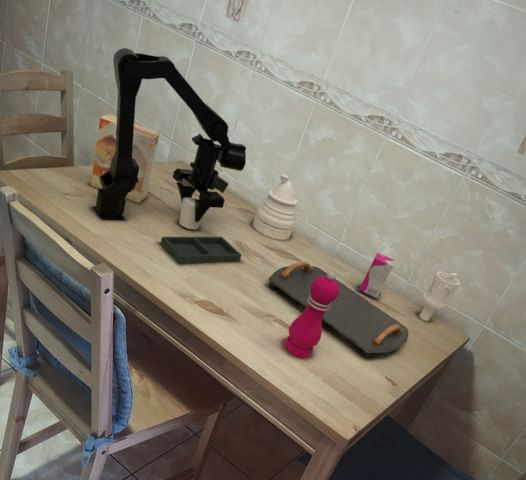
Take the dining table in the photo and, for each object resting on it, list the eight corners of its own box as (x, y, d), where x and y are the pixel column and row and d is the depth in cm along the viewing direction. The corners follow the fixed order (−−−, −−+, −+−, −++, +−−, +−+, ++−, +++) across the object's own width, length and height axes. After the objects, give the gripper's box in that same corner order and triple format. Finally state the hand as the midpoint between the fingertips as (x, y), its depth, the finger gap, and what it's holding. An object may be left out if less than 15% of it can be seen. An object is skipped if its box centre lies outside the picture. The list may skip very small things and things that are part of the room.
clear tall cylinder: (439, 322, 151) (466, 280, 143) (427, 326, 146) (454, 282, 138) (420, 309, 154) (446, 267, 146) (408, 312, 149) (434, 268, 141)
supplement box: (378, 292, 154) (395, 259, 148) (375, 300, 149) (393, 266, 143) (361, 284, 154) (377, 251, 148) (357, 291, 149) (375, 257, 143)
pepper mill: (280, 336, 115) (313, 259, 105) (310, 343, 117) (345, 268, 106) (284, 355, 110) (319, 276, 99) (314, 362, 111) (352, 285, 101)
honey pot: (258, 235, 159) (277, 180, 149) (248, 217, 168) (266, 164, 158) (294, 242, 164) (315, 190, 154) (283, 225, 173) (302, 174, 164)
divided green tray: (179, 264, 127) (181, 256, 126) (160, 243, 132) (161, 236, 131) (239, 261, 139) (241, 254, 138) (219, 243, 145) (222, 236, 144)
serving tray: (256, 281, 133) (263, 260, 130) (306, 269, 150) (314, 250, 147) (372, 368, 117) (384, 348, 114) (414, 344, 134) (425, 325, 131)
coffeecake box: (89, 185, 147) (99, 116, 136) (99, 179, 153) (109, 112, 142) (138, 203, 148) (152, 137, 137) (147, 197, 154) (160, 132, 143)
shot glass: (202, 224, 150) (208, 202, 146) (197, 232, 144) (203, 210, 140) (180, 216, 149) (185, 194, 146) (174, 224, 144) (180, 201, 140)
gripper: (247, 180, 137) (230, 232, 146) (211, 152, 147) (197, 202, 156) (214, 177, 130) (198, 232, 138) (178, 147, 140) (165, 200, 148)
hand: (190, 216), depth 145 cm, fingers closed on shot glass, 6 cm apart
